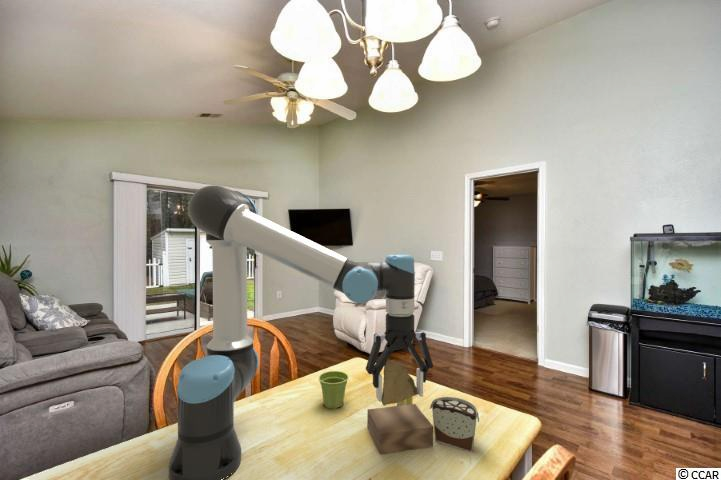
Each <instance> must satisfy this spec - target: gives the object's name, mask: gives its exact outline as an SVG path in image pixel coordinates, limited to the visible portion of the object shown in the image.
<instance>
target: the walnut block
mask: <svg viewBox="0 0 721 480" xmlns="http://www.w3.org/2000/svg"><path fill="white" fill-rule="evenodd" d="M366 420H367V425H366V426H367V430H368V431H369V434H370V436H371V439H372V440H373V442H374V445H375V446H376V449H377V451H378V453H379V455H386V454H390V453H391V454H392V453H395V452H396V453H397V452H403V451H410V450H417V449H424V448H431V447H434V424H432V423H431V422H430V421H429V419H428V418H427V416H425V415H424V413H423V412H422V411H421V409H420V408H419V407H418V405H416V404H415V403H412V404H410V405H401V406H397V405H395V406H387V407H385V406H383V407H378V408H369V409H367V419H366Z"/></svg>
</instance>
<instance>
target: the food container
mask: <svg viewBox="0 0 721 480" xmlns="http://www.w3.org/2000/svg"><path fill="white" fill-rule="evenodd" d="M429 406H430V407H429V409H430V410H431V409H432V411H431V412H432V421H433V435H434V442H438V443H440V444H444V445H446V446H450V447H453V448H456V449H458V450H459V449H460V450H462V451H466V452H468V453H471V454H472V453H473V450H474V443H475V433H476V428H477V425H476V424H477V423H479V422H480V416H479V412H478V409H477V407H476V406H475V405H474V404H473V403H471V402H470V401H468V400H466V399H463V398H459V397H453V396H442V397H441V396H440V397H437V398H435V399H432V401H431V403H430V405H429Z"/></svg>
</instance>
